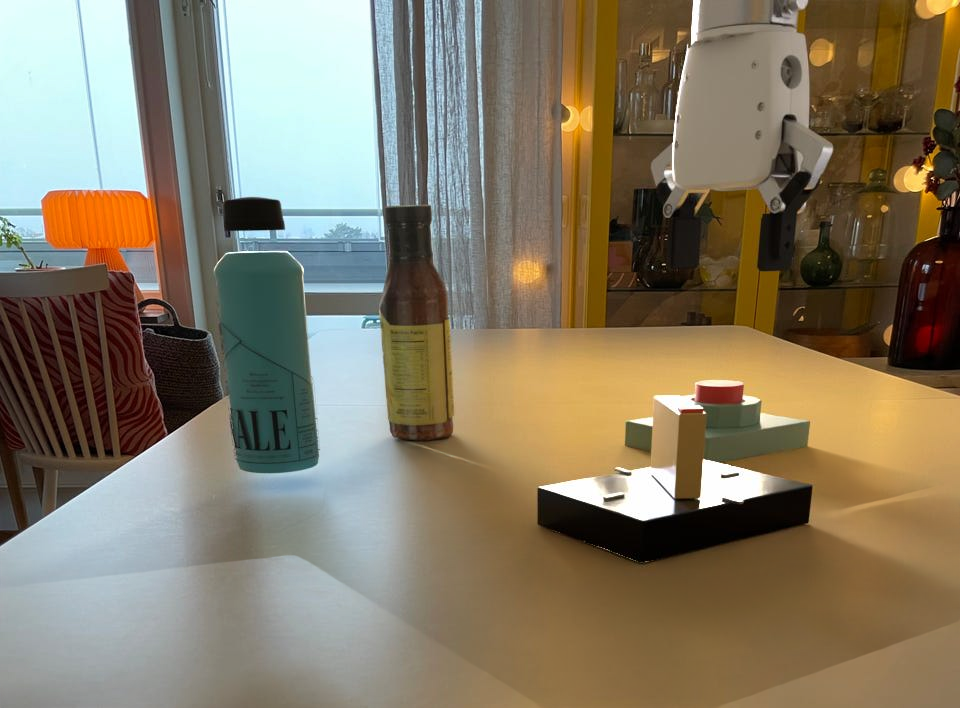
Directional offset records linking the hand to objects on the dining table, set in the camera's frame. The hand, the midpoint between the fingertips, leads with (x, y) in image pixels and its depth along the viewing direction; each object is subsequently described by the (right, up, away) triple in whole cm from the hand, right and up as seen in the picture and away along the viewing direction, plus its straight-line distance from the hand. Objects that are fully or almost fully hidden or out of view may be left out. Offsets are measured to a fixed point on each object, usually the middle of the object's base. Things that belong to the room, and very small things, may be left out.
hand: (726, 269), depth 77 cm
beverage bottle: (-35, -18, -3) cm, 39 cm away
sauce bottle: (-25, -11, +13) cm, 31 cm away
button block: (+1, -13, +6) cm, 14 cm away
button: (+1, -10, +5) cm, 11 cm away
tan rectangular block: (-8, -20, -17) cm, 27 cm away
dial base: (-8, -22, -16) cm, 28 cm away
